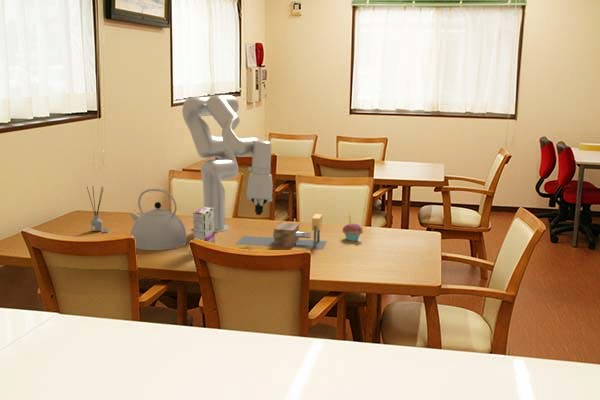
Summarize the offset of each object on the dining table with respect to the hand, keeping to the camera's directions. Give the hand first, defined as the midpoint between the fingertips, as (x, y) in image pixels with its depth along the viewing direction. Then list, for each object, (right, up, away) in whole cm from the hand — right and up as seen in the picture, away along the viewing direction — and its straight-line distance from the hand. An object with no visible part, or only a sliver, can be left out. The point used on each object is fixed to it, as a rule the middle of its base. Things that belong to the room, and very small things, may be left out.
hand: (258, 214), depth 271 cm
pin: (+14, -11, -1) cm, 18 cm away
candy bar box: (-21, -14, -12) cm, 28 cm away
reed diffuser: (-71, -8, +15) cm, 73 cm away
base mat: (+10, -12, 0) cm, 16 cm away
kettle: (-42, -12, -1) cm, 44 cm away
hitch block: (+16, -12, -1) cm, 20 cm away
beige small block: (+24, -6, -4) cm, 25 cm away
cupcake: (+39, -12, +8) cm, 42 cm away
